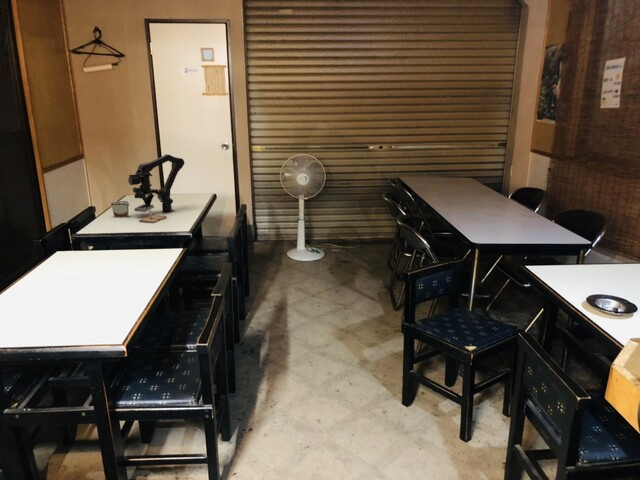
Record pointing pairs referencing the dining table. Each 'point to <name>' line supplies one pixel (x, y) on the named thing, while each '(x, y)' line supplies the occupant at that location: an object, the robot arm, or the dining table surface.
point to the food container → (120, 209)
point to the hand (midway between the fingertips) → (148, 206)
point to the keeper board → (152, 218)
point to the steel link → (143, 208)
